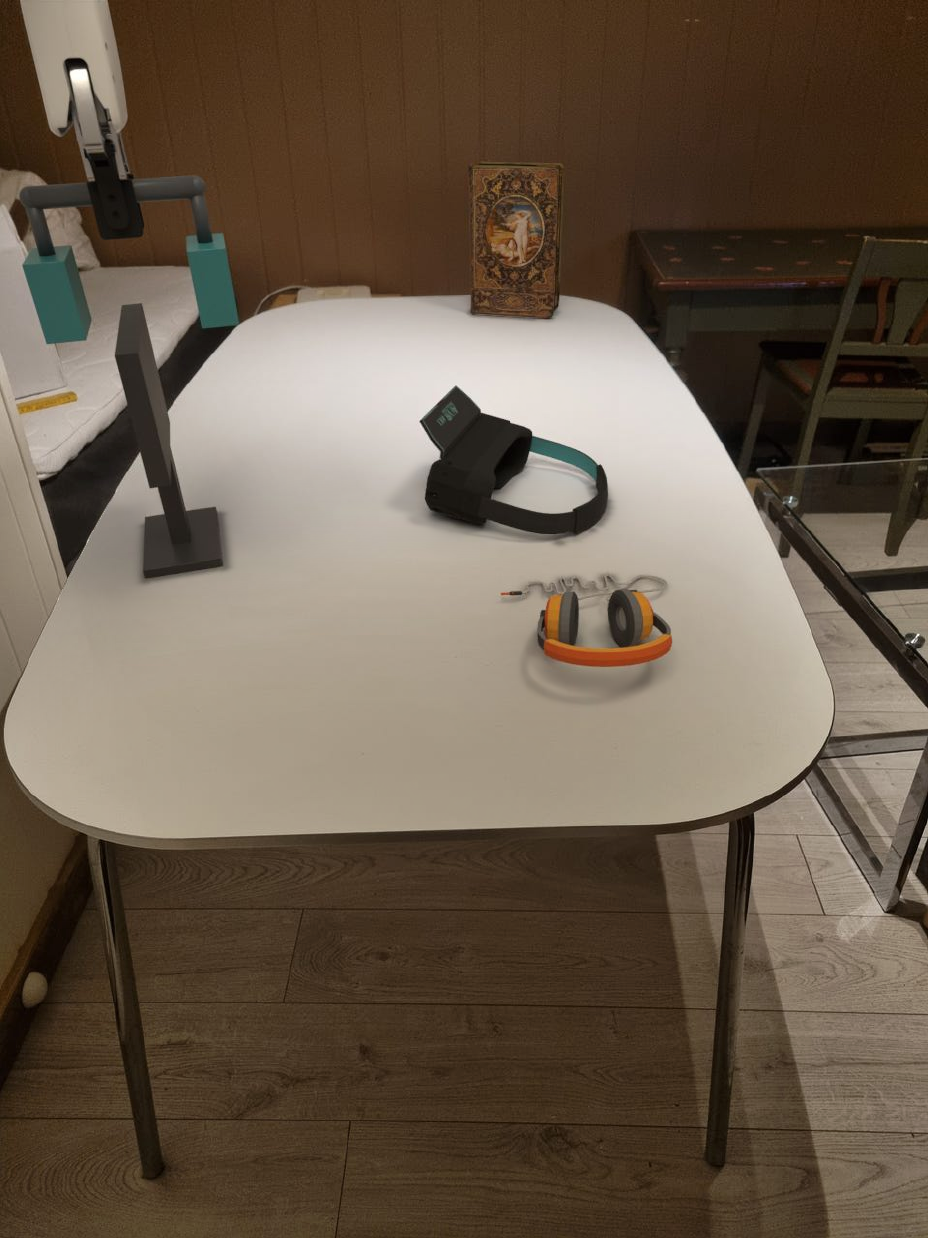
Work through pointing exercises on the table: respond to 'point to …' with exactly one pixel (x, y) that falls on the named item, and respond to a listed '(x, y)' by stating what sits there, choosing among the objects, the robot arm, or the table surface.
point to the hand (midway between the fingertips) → (123, 232)
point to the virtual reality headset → (496, 468)
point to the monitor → (161, 460)
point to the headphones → (626, 623)
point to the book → (515, 238)
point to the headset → (59, 276)
